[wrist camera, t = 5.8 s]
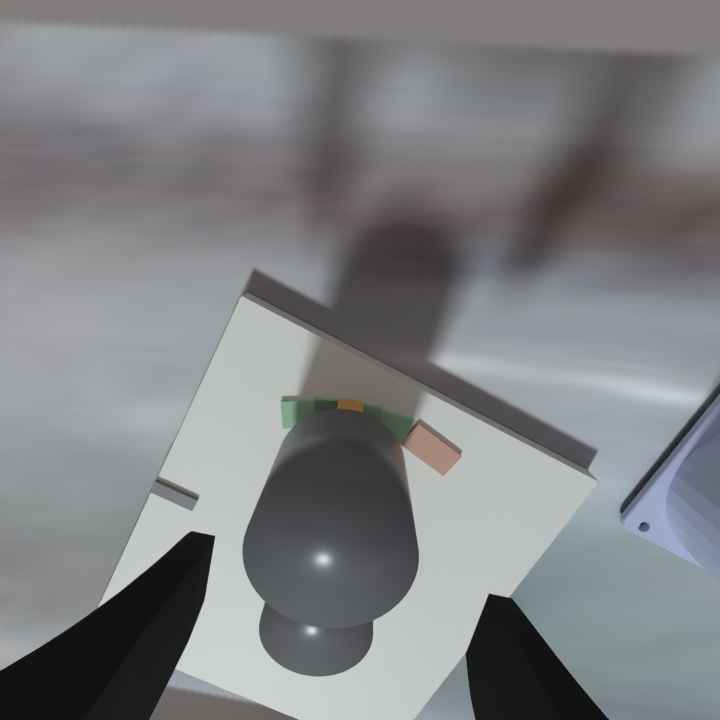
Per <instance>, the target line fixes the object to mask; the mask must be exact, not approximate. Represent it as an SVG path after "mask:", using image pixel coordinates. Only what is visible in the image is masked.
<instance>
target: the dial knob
mask: <svg viewBox="0 0 720 720" xmlns="http://www.w3.org/2000/svg"><path fill="white" fill-rule="evenodd" d="M363 405H364V402H360V401H353V400H346V399H340V398H339V401H338V406H337V409H329V410H324V411H320V412H317V413H314V414H312V415H310V416H308V417H306V418H304V419H303V420H301V421H300V422H298V423H297V424H296V425H295V426H294V427H293V428H292V429H291V430H290V431H289V432H288V434H287V435H286V437H285V438H284V440H283V442H282V444H281V446H280V449H279V451H278V454H277V456H276V458H275V461H274V463H273V466H272V468H271V471H270V473H269V475H268V478H267V480H266V483H265V485H264V488H263V490H262V492H261V495H260V497H259V500H258V502H257V505H256V507H255V510H254V512H253V514H252V517H251V519H250V522H249V524H248V527H247V529H246V532H245V535H244V540H243V550H242V556H243V563H244V568H245V571H246V574H247V576H248V579H249V581H250V583H251V585H252V586H253V588H254V589H255V591H256V592H257V593H258V595H259V596H260V597H261V598H262V599H263V600H264V601H265V604H264V607H263V611H262V614H261V618H260V622H259V636H260V640H261V643H262V645H263V647H264V649H265V650H266V652H267V653H268V655H269V656H270V657H271V658H272V659H273V660H274V661H275V662H277V663H278V664H279V665H281V666H282V667H284V668H286V669H288V670H290V671H292V672H295V673H298V674H301V675H307V676H315V677H322V676H331V675H336V674H339V673H342V672H345V671H347V670H349V669H351V668H352V667H354V666H356V665H357V664H358V663H359V662H360V661H361V660H362V659H363V658H364V657H365V656H366V654H367V653H368V651H369V649H370V647H371V644H372V641H373V620H375V619H377V618H379V617H381V616H383V615H384V614H386V613H388V612H389V611H391V610H392V609H393V608H394V607H395V606H397V605H398V604H399V603H400V602H401V600H402V599H403V598H404V597H405V596H406V594H407V593H408V591H409V590H410V588H411V586H412V584H413V582H414V580H415V577H416V574H417V571H418V564H419V548H418V542H417V536H416V529H415V523H414V516H413V510H412V504H411V497H410V491H409V484H408V478H407V472H406V465H405V459H404V454H403V451H402V448H401V446H400V444H399V442H398V440H397V438H396V437H395V435H394V434H393V433H392V432H391V430H390V429H389V428H388V427H387V426H385V425H384V424H383V423H382V422H380V421H379V420H377V419H376V418H374V417H372V416H370V415H368V414H366V413H363Z"/></svg>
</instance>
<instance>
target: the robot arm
mask: <svg viewBox="0 0 720 720" xmlns="http://www.w3.org/2000/svg"><path fill="white" fill-rule="evenodd" d="M620 521H621V523H622V525H623V526H624V527H625V528H626V529H627V530H629V531H631V532H633V533H635V534H637V535H639V536H641V537H643V538H645V539H647V540H649V541H651V542H653V543H655V544H657V545H658V546H660V547H662V548H664V549H666V550H668V551H670V552H672V553H674V554H676V555H678V556H680V557H682V558H684V559H686V560H688V561H690V562H692V563H694V564H696V565H698V566H700V567H702V568H704V569H705V570H706V571H707V572H708V573H709V574H710V575H711V576H712V577H713V578H714V579H715V580H716V581H717V582H718V583H719V584H720V394H719V395H718V396H717V398H716V399H715V400H714V401H713V403H712V404H711V405H710V406H709V407H708V409H707V410H706V411H705V412H704V414H703V415H702V416H701V417H700V418H699V420H698V421H697V422H696V423H695V425H694V426H693V427H692V428H691V429H690V431H689V432H688V433H687V434H686V436H685V437H684V438H683V439H682V441H681V442H680V443H679V444H678V445H677V447H676V448H675V449H674V450H673V452H672V453H671V454H670V455H669V456H668V458H667V459H666V460H665V461H664V463H663V464H662V465H661V466H660V467H659V469H658V470H657V471H656V472H655V474H654V475H653V476H652V477H651V479H650V480H649V481H648V482H647V483H646V485H645V486H644V487H643V488H642V490H641V491H640V492H639V493H638V494H637V496H636V497H635V498H634V499H633V501H632V502H631V503H630V504H629V506H628V507H627V508H626V509H625V510H624V512H623V513H622V515H621V516H620ZM642 522H645V523H644V524H643V525H642V526H639V524H641V523H642ZM214 541H215V536H213V535H209V534H204V533H199V532H194V531H191V532H189V533H187V534H186V535H185V536H184V537H183V538H182V539H181V540H180V541H179V542H177V543H176V544H175V545H174V546H173V547H172V548H171V549H170V550H169V551H168V552H167V553H165V554H164V555H163V556H162V557H161V558H160V559H159V560H157V561H156V562H155V563H154V564H153V565H152V566H151V567H149V568H148V569H147V570H146V571H145V572H143V573H142V574H141V575H140V576H138V577H137V578H136V579H135V580H134V581H132V582H131V583H130V584H129V585H127V586H126V587H125V588H124V589H122V590H121V591H120V592H119V593H117V594H116V595H115V596H113V597H112V598H111V599H109V600H108V601H107V602H105V603H104V604H103V605H101V606H100V607H99V608H97V609H96V610H94V611H93V612H92V613H90V614H89V615H88V616H86V617H85V618H83V619H82V620H81V621H79V622H78V623H76V624H75V625H73V626H72V627H70V628H69V629H67V630H66V631H64V632H63V633H61V634H60V635H58V636H57V637H55V638H54V639H52V640H51V641H49V642H47V643H46V644H44V645H43V646H41V647H40V648H38V649H36V650H35V651H33V652H31V653H30V654H28V655H26V656H25V657H23V658H21V659H19V660H18V661H16V662H14V663H13V664H11V665H9V666H8V667H6V668H4V669H3V670H1V671H0V720H149V719H150V717H151V715H152V713H153V711H154V709H155V707H156V705H157V703H158V701H159V699H160V697H161V695H162V693H163V691H164V689H165V687H166V685H167V683H168V681H169V679H170V677H171V676H172V674H173V672H174V670H175V668H176V666H177V664H178V662H179V660H180V658H181V656H182V654H183V652H184V650H185V648H186V646H187V644H188V641H189V639H190V636H191V634H192V631H193V629H194V626H195V624H196V621H197V619H198V616H199V613H200V611H201V608H202V606H203V603H204V600H205V595H206V589H207V583H208V577H209V571H210V565H211V559H212V553H213V547H214ZM466 660H467V669H468V679H469V687H470V695H471V701H472V706H473V710H474V715H475V719H476V720H609V719H608V718H607V717H606V716H605V715H604V713H603V712H602V711H601V710H600V709H599V708H598V706H597V705H596V704H595V703H594V702H593V701H592V699H591V698H590V697H589V696H588V695H587V693H586V692H585V691H584V690H583V689H582V687H581V686H580V685H579V684H578V683H577V681H576V680H575V679H574V678H573V676H572V675H571V674H570V673H569V671H568V670H567V669H566V668H565V666H564V665H563V664H562V663H561V661H560V660H559V659H558V657H557V656H556V655H555V654H554V652H553V651H552V650H551V648H550V647H549V646H548V644H547V643H546V642H545V641H544V639H543V638H542V637H541V635H540V634H539V633H538V631H537V630H536V629H535V627H534V626H533V625H532V624H531V622H530V621H529V620H528V618H527V617H526V616H525V614H524V613H523V612H522V611H521V609H520V608H519V607H518V605H517V604H516V603H515V602H514V601H513V599H512V598H509V597H504V596H499V595H494V594H490V593H489V595H488V597H487V600H486V602H485V605H484V607H483V610H482V613H481V615H480V618H479V620H478V623H477V626H476V628H475V631H474V633H473V636H472V639H471V641H470V644H469V646H468V649H467V652H466Z"/></svg>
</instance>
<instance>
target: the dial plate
mask: <svg viewBox="0 0 720 720" xmlns="http://www.w3.org/2000/svg"><path fill="white" fill-rule="evenodd" d="M339 398H340V399H346V400H353V401H360V402H364V405H363V413H366V414H368V415H370V416H372V417H374V418H376V419H377V420H379V421H380V422H382V423H383V424H384V425H385V426H387V427H388V428H389V429H390V430H391V432H392V433H393V434H394V435H395V437H396V438H397V440H398V442H399V444H400V446H401V448H402V451H403V454H404V459H405V465H406V472H407V478H408V484H409V491H410V497H411V504H412V510H413V516H414V523H415V529H416V536H417V542H418V548H419V564H418V571H417V574H416V577H415V580H414V582H413V584H412V586H411V588H410V590H409V591H408V593H407V594H406V596H405V597H404V598H403V599H402V600H401V602H400V603H399V604H398V605H397V606H395V607H394V608H393V609H392V610H391V611H389V612H388V613H386V614H384V615H383V616H381V617H379V618H377V619H375V620H373V641H372V644H371V647H370V649H369V651H368V653H367V654H366V656H365V657H364V658H363V659H362V660H361V661H360V662H359V663H358V664H357V665H356V666H354V667H352V668H351V669H349V670H347V671H345V672H342V673H339V674H336V675H331V676H322V677H315V676H307V675H301V674H298V673H295V672H292V671H290V670H288V669H286V668H284V667H282V666H281V665H279V664H278V663H277V662H275V661H274V660H273V659H272V658H271V657H270V656H269V655H268V653H267V652H266V650H265V649H264V647H263V645H262V643H261V640H260V636H259V622H260V618H261V614H262V611H263V607H264V604H265V601H264V600H263V599H262V598H261V597H260V596H259V595H258V593H257V592H256V591H255V589H254V588H253V586H252V585H251V583H250V581H249V579H248V576H247V574H246V571H245V568H244V563H243V556H242V550H243V540H244V535H245V532H246V529H247V527H248V524H249V522H250V519H251V517H252V514H253V512H254V510H255V507H256V505H257V502H258V500H259V497H260V495H261V492H262V490H263V488H264V485H265V483H266V480H267V478H268V475H269V473H270V471H271V468H272V466H273V463H274V461H275V458H276V456H277V454H278V451H279V449H280V446H281V444H282V442H283V440H284V438H285V437H286V435H287V434H288V432H289V431H290V430H291V429H292V428H293V427H294V426H295V425H296V424H297V423H298V422H300V421H301V420H303V419H304V418H306V417H308V416H310V415H312V414H314V413H317V412H320V411H324V410H329V409H337V406H338V401H339ZM598 482H599V481H598V480H597V479H596V478H595V477H594V476H593V475H592V474H591V473H590V472H589V471H588V470H587V469H585V468H583V467H581V466H579V465H577V464H575V463H574V462H572V461H570V460H568V459H566V458H564V457H562V456H560V455H558V454H556V453H554V452H552V451H551V450H549V449H547V448H545V447H543V446H541V445H539V444H537V443H535V442H533V441H531V440H529V439H528V438H526V437H524V436H522V435H520V434H518V433H516V432H514V431H512V430H510V429H508V428H506V427H505V426H503V425H501V424H499V423H497V422H495V421H493V420H491V419H489V418H487V417H485V416H483V415H482V414H480V413H478V412H476V411H474V410H472V409H470V408H468V407H466V406H464V405H462V404H460V403H459V402H457V401H455V400H453V399H451V398H449V397H447V396H445V395H443V394H441V393H439V392H438V391H436V390H434V389H432V388H430V387H428V386H426V385H424V384H422V383H420V382H418V381H416V380H415V379H413V378H411V377H409V376H407V375H405V374H403V373H401V372H399V371H397V370H395V369H393V368H392V367H390V366H388V365H386V364H384V363H382V362H380V361H378V360H376V359H374V358H372V357H370V356H369V355H367V354H365V353H363V352H361V351H359V350H357V349H355V348H353V347H351V346H349V345H347V344H346V343H344V342H342V341H340V340H338V339H336V338H334V337H332V336H330V335H328V334H326V333H325V332H323V331H321V330H319V329H317V328H315V327H313V326H311V325H309V324H307V323H305V322H303V321H302V320H300V319H298V318H296V317H294V316H292V315H290V314H288V313H286V312H284V311H282V310H280V309H279V308H277V307H275V306H273V305H271V304H269V303H267V302H265V301H263V300H261V299H259V298H257V297H256V296H254V295H252V294H250V293H246V294H244V295H242V296H241V298H240V300H239V302H238V304H237V306H236V309H235V311H234V313H233V315H232V317H231V319H230V322H229V324H228V326H227V328H226V330H225V333H224V335H223V337H222V339H221V341H220V343H219V346H218V348H217V350H216V352H215V354H214V356H213V359H212V361H211V363H210V365H209V367H208V369H207V372H206V374H205V376H204V378H203V380H202V383H201V385H200V387H199V389H198V391H197V393H196V396H195V398H194V400H193V402H192V404H191V406H190V409H189V411H188V413H187V415H186V417H185V420H184V422H183V424H182V426H181V428H180V430H179V433H178V435H177V437H176V439H175V441H174V443H173V446H172V448H171V450H170V452H169V454H168V457H167V459H166V461H165V463H164V465H163V467H162V470H161V472H160V474H159V476H158V478H157V480H156V481H155V483H154V485H153V487H152V489H151V491H150V492H151V494H150V496H149V498H148V500H147V502H146V504H145V507H144V509H143V511H142V513H141V515H140V517H139V520H138V522H137V524H136V526H135V528H134V531H133V533H132V535H131V537H130V539H129V541H128V544H127V546H126V548H125V550H124V552H123V554H122V557H121V559H120V561H119V563H118V565H117V567H116V570H115V572H114V574H113V576H112V578H111V581H110V583H109V585H108V587H107V589H106V591H105V594H104V596H103V598H102V600H101V602H100V604H99V607H100V606H101V605H103V604H104V603H105V602H107V601H108V600H109V599H111V598H112V597H113V596H115V595H116V594H117V593H119V592H120V591H121V590H122V589H124V588H125V587H126V586H127V585H129V584H130V583H131V582H132V581H134V580H135V579H136V578H137V577H138V576H140V575H141V574H142V573H143V572H145V571H146V570H147V569H148V568H149V567H151V566H152V565H153V564H154V563H155V562H156V561H157V560H159V559H160V558H161V557H162V556H163V555H164V554H165V553H167V552H168V551H169V550H170V549H171V548H172V547H173V546H174V545H175V544H176V543H177V542H179V541H180V540H181V539H182V538H183V537H184V536H185V535H186V534H187V533H189V532H191V531H194V532H199V533H204V534H209V535H213V536H215V541H214V547H213V553H212V559H211V565H210V571H209V577H208V583H207V589H206V595H205V600H204V603H203V606H202V608H201V611H200V613H199V616H198V619H197V621H196V624H195V626H194V629H193V631H192V634H191V636H190V639H189V641H188V644H187V646H186V648H185V650H184V652H183V654H182V656H181V658H180V660H179V662H178V664H177V666H176V668H175V669H177V670H179V671H181V672H184V673H186V674H189V675H191V676H194V677H196V678H199V679H201V680H204V681H206V682H208V683H211V684H213V685H216V686H218V687H221V688H223V689H226V690H228V691H230V692H233V693H235V694H238V695H240V696H243V697H245V698H248V699H250V700H252V701H255V702H257V703H260V704H262V705H265V706H267V707H270V708H272V709H274V710H277V711H279V712H282V713H284V714H287V715H289V716H292V717H294V718H296V719H299V720H414V718H415V717H416V716H417V714H418V713H419V712H420V711H421V709H422V708H423V707H424V705H425V704H426V703H427V702H428V700H429V699H430V698H431V696H432V695H433V694H434V693H435V691H436V690H437V689H438V688H439V686H440V685H441V684H442V682H443V681H444V680H445V679H446V677H447V676H448V675H449V673H450V672H451V671H452V670H453V668H454V667H455V666H456V664H457V663H458V662H459V661H460V659H461V658H462V657H463V655H464V654H465V653H466V652H467V649H468V646H469V644H470V641H471V639H472V636H473V633H474V631H475V628H476V626H477V623H478V620H479V618H480V615H481V613H482V610H483V607H484V605H485V602H486V600H487V597H488V595H489V593H490V594H494V595H499V596H504V597H510V595H511V594H512V593H513V591H514V590H515V589H516V588H517V586H518V585H519V584H520V582H521V581H522V580H523V579H524V577H525V576H526V575H527V573H528V572H529V571H530V570H531V568H532V567H533V566H534V564H535V563H536V562H537V561H538V559H539V558H540V557H541V556H542V554H543V553H544V552H545V550H546V549H547V548H548V547H549V545H550V544H551V543H552V541H553V540H554V539H555V538H556V536H557V535H558V534H559V532H560V531H561V530H562V529H563V527H564V526H565V525H566V523H567V522H568V521H569V520H570V518H571V517H572V516H573V514H574V513H575V512H576V511H577V509H578V508H579V507H580V506H581V504H582V503H583V502H584V500H585V499H586V498H587V497H588V495H589V494H590V493H591V491H592V490H593V489H594V488H595V486H596V485H597V484H598ZM99 607H98V608H99Z"/></svg>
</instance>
